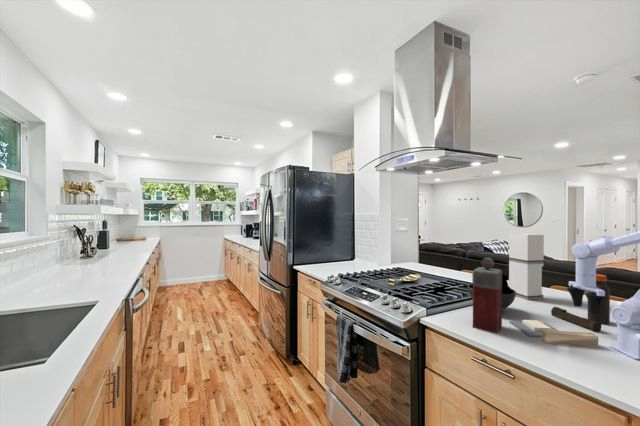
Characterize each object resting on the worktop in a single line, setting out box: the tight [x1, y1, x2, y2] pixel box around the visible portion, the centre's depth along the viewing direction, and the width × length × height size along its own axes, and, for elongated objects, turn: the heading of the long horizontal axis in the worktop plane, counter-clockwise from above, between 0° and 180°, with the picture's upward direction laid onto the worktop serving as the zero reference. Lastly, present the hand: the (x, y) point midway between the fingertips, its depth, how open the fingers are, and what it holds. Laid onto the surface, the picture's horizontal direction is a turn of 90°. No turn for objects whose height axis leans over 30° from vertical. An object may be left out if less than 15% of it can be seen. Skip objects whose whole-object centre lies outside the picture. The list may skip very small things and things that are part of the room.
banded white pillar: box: [508, 232, 545, 301], centre depth 159 cm, size 11×11×35 cm
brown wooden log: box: [550, 306, 602, 333], centre depth 120 cm, size 19×4×5 cm, turn 7°
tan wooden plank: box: [540, 329, 599, 348], centre depth 101 cm, size 3×16×4 cm, turn 80°
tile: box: [521, 319, 551, 332], centre depth 113 cm, size 2×6×8 cm
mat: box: [509, 320, 560, 338], centre depth 112 cm, size 14×14×1 cm
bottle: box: [587, 273, 611, 325], centre depth 122 cm, size 7×7×20 cm
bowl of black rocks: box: [467, 268, 517, 310], centre depth 137 cm, size 20×20×19 cm
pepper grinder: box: [472, 257, 503, 334], centre depth 116 cm, size 9×11×28 cm
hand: (585, 309), depth 109 cm, fingers open, 7 cm apart
